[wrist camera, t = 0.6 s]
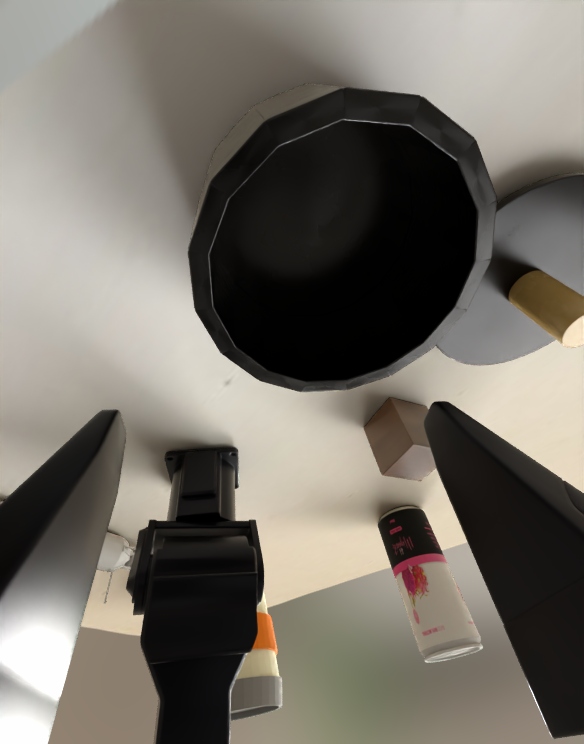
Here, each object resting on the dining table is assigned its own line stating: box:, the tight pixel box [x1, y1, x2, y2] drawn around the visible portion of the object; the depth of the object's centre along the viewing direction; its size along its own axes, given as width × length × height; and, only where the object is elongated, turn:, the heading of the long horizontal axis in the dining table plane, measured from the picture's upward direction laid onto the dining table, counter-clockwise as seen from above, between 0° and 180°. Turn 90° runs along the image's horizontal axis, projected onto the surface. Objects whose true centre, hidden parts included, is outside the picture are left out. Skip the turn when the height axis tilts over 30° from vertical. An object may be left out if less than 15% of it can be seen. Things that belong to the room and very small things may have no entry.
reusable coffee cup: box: [230, 590, 282, 721], centre depth 50 cm, size 13×13×15 cm
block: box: [364, 397, 436, 481], centre depth 30 cm, size 4×4×5 cm
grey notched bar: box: [0, 501, 136, 603], centre depth 34 cm, size 18×5×6 cm, turn 35°
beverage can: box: [378, 506, 483, 662], centre depth 41 cm, size 7×6×15 cm
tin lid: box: [436, 173, 584, 365], centre depth 22 cm, size 14×14×6 cm
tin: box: [188, 83, 497, 392], centre depth 17 cm, size 13×13×7 cm
